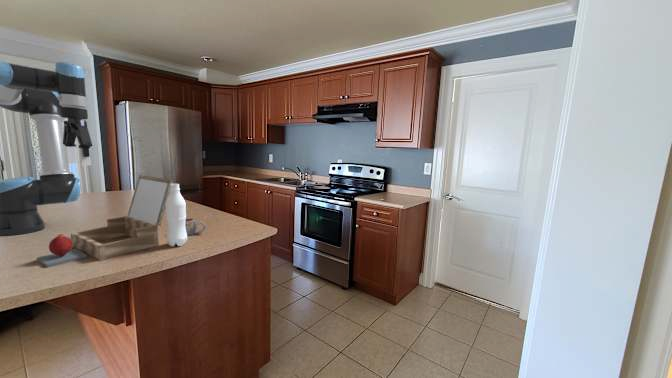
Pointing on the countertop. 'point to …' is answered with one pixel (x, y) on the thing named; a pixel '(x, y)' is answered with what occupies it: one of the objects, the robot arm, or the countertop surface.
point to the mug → (193, 227)
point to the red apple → (60, 245)
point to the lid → (150, 199)
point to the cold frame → (137, 229)
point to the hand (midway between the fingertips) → (79, 164)
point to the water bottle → (176, 217)
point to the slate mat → (61, 258)
